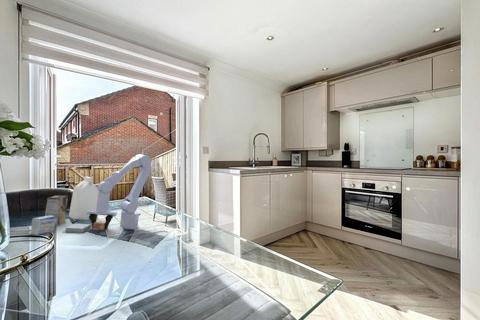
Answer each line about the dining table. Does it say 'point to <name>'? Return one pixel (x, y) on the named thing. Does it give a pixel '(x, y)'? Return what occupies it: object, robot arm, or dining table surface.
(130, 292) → the dining table surface
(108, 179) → the robot arm
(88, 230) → the bottom block
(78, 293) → the dining table surface
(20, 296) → the dining table surface
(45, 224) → the medicine box
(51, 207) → the coffee box
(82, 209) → the milk
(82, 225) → the top block
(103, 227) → the terracotta cube
